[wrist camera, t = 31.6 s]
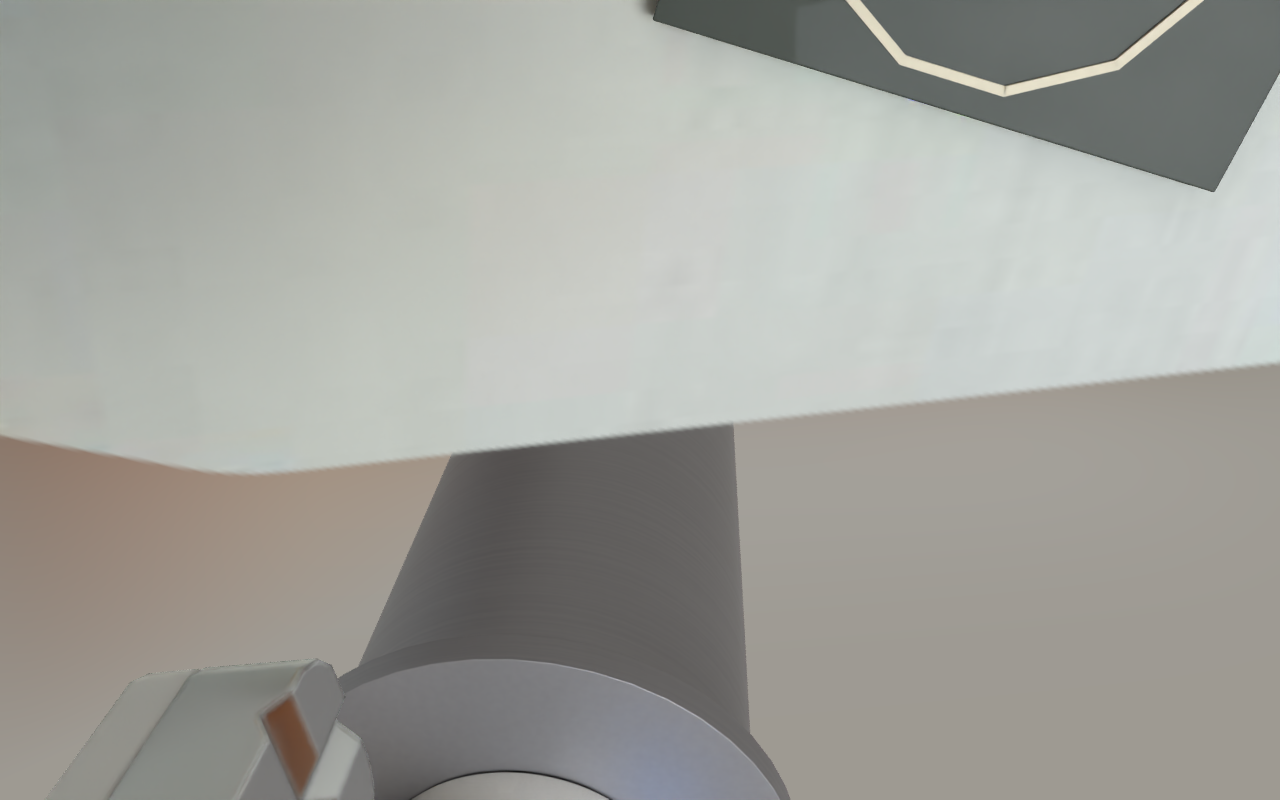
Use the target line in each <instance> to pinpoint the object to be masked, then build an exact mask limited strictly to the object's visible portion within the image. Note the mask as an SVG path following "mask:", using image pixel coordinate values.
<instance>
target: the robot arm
mask: <svg viewBox="0 0 1280 800" xmlns="http://www.w3.org/2000/svg"><path fill="white" fill-rule="evenodd" d="M344 699H345V694H344V692H343V690H342V688H341V685H340V683H339V681H338V678H337V676H336V674H335V672H334V669H333V667H332V666H331V665H330V664H328V663H326V662H324V661H321V660H319V659H305V660H293V661H281V662H270V663H257V664H245V665H233V666H220V667H208V668H204V669H202V670H199V669H192V670H182V671H171V672H160V673H151V674H147V675H145V676H143V677H140V678H138V679H136V680H134V681H132V682H130V683H129V685H128V686H127V688H126V689H125V690H124V691H123V693H122V694H121V696H120V697H119V699H118V700H117V701H116V703H115V704H114V705H113V707H112V708H111V709H110V711H109V712H108V714H107V715H106V716H105V718H104V719H103V721H102V722H101V723H100V725H99V726H98V727H97V729H96V730H95V732H94V733H93V734H92V736H91V737H90V738H89V740H88V741H87V742H86V744H85V745H84V747H83V748H82V749H81V751H80V752H79V753H78V755H77V756H76V758H75V759H74V760H73V762H72V763H71V764H70V766H69V767H68V769H67V770H66V771H65V773H64V774H63V775H62V777H61V778H60V780H59V781H58V782H57V784H56V785H55V786H54V788H53V789H52V791H51V792H50V793H49V795H48V796H47V797H46V799H45V800H374V792H375V789H374V782H373V776H372V769H371V763H370V760H369V757H368V754H367V751H366V749H365V746H364V743H363V741H362V738H360V737H359V736H357V735H356V734H355V733H353V732H352V731H351V730H349V729H348V728H347V727H345V726H344V725H343V724H341V723H340V722H339V721H337V720H336V718H337V716H338V713H339V711H340V709H341V706H342V704H343V702H344ZM411 800H609V799H608V798H606V797H604V796H602V795H600V794H598V793H596V792H594V791H592V790H590V789H587V788H585V787H582V786H580V785H577V784H574V783H571V782H568V781H564V780H561V779H557V778H553V777H548V776H543V775H537V774H529V773H517V772H495V773H483V774H476V775H470V776H465V777H460V778H457V779H453V780H450V781H447V782H444V783H441V784H439V785H437V786H434V787H432V788H430V789H428V790H426V791H424V792H422V793H421V794H419V795H418V796H416V797H415V798H413V799H411Z"/></svg>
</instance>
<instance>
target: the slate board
mask: <svg viewBox="0 0 1280 800" xmlns="http://www.w3.org/2000/svg"><path fill="white" fill-rule="evenodd" d="M653 20H654V21H657V22H661V23H664V24H667V25H670V26H674V27H677V28H680V29H683V30H687V31H690V32H693V33H696V34H700V35H703V36H706V37H710V38H713V39H716V40H719V41H723V42H726V43H729V44H732V45H736V46H739V47H742V48H745V49H749V50H752V51H755V52H758V53H762V54H765V55H768V56H771V57H775V58H778V59H781V60H784V61H788V62H791V63H794V64H797V65H801V66H804V67H807V68H810V69H814V70H817V71H820V72H824V73H827V74H830V75H833V76H837V77H840V78H843V79H846V80H850V81H853V82H856V83H859V84H863V85H866V86H869V87H872V88H876V89H879V90H882V91H885V92H889V93H892V94H895V95H898V96H902V97H905V98H908V99H911V100H915V101H918V102H921V103H924V104H928V105H931V106H934V107H938V108H941V109H944V110H947V111H951V112H954V113H957V114H960V115H964V116H967V117H970V118H973V119H977V120H980V121H983V122H986V123H990V124H993V125H996V126H999V127H1003V128H1006V129H1009V130H1012V131H1016V132H1019V133H1022V134H1025V135H1029V136H1032V137H1035V138H1038V139H1042V140H1045V141H1048V142H1051V143H1055V144H1058V145H1061V146H1065V147H1068V148H1071V149H1074V150H1078V151H1081V152H1084V153H1087V154H1091V155H1094V156H1097V157H1100V158H1104V159H1107V160H1110V161H1113V162H1117V163H1120V164H1123V165H1126V166H1130V167H1133V168H1136V169H1139V170H1143V171H1146V172H1149V173H1152V174H1156V175H1159V176H1162V177H1165V178H1169V179H1172V180H1175V181H1179V182H1182V183H1185V184H1188V185H1192V186H1195V187H1198V188H1201V189H1205V190H1208V191H1211V192H1215V190H1216V188H1217V186H1218V185H1219V183H1220V181H1221V179H1222V177H1223V175H1224V174H1225V172H1226V170H1227V168H1228V166H1229V165H1230V163H1231V161H1232V159H1233V157H1234V155H1235V154H1236V152H1237V150H1238V148H1239V146H1240V144H1241V143H1242V141H1243V139H1244V137H1245V135H1246V133H1247V132H1248V130H1249V128H1250V126H1251V124H1252V122H1253V121H1254V119H1255V117H1256V115H1257V113H1258V111H1259V110H1260V108H1261V106H1262V104H1263V102H1264V100H1265V99H1266V97H1267V95H1268V93H1269V91H1270V90H1271V88H1272V86H1273V84H1274V82H1275V80H1276V79H1277V77H1278V75H1279V73H1280V0H658V2H657V6H656V10H655V13H654V17H653Z"/></svg>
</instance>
